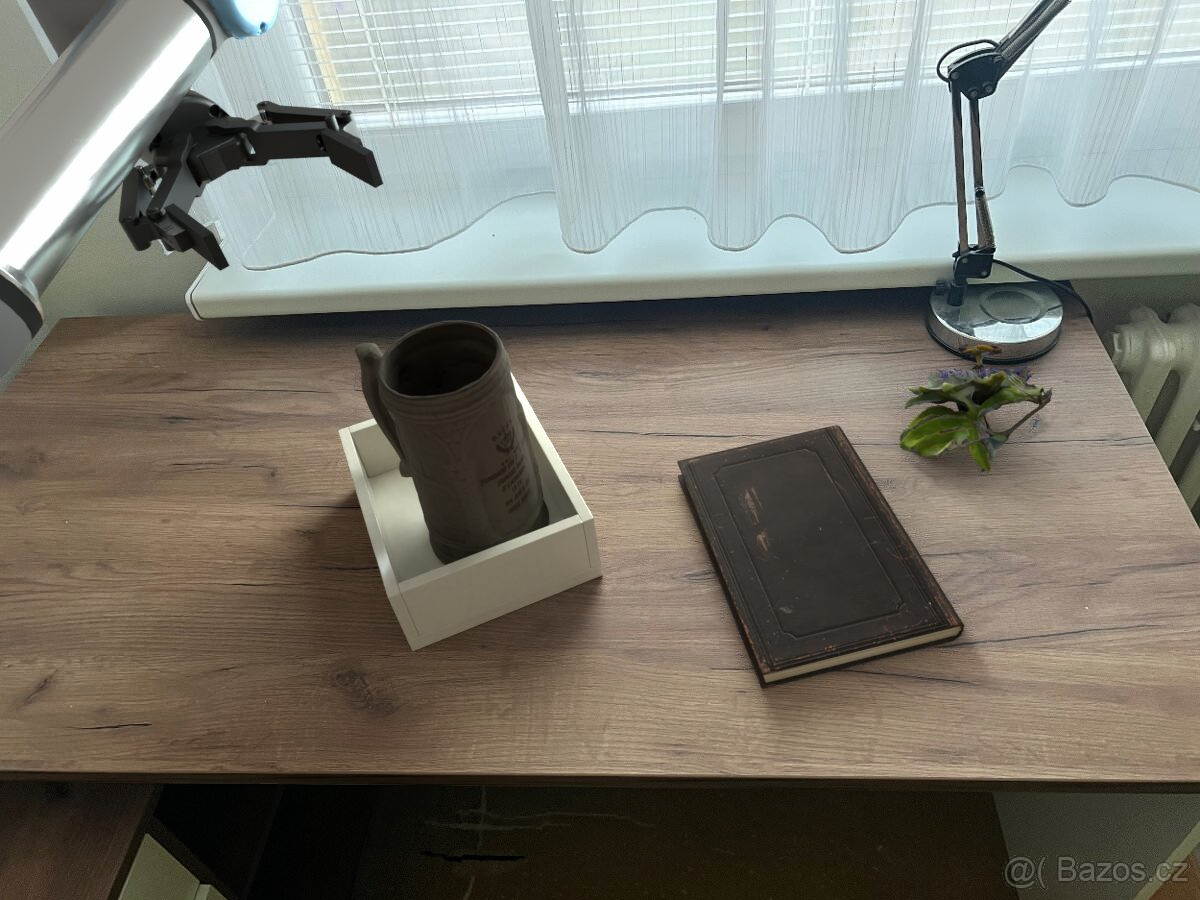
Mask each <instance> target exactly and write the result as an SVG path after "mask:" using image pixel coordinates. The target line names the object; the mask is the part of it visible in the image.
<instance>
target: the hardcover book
mask: <svg viewBox="0 0 1200 900" xmlns="http://www.w3.org/2000/svg"><path fill="white" fill-rule="evenodd" d="M676 463H677V465H678V469H679V471H680V474H678V475H677V477H678V480H679V483H680V486H681V488H682V491H683V493H684V495H685V498H686V500H687V501H686V502H687V503H688V506H689V508H690V511H691V513H692V517H693V518H694V521H695V524H696V525H697V528H698V530H699V533H700V536H701V539H702V541H703V544H704V546H705V548H706V551H707V553H708V557H709V558H710V562H711V564H712V567H713V570H714V571H715V574H716V576H717V579H718V581H719V585H720V586H721V589H722V591H723V594H724V596H725V599H726V602H727V604H728V606H729V609H730V612H731V614H732V617H733V619H734V622H735V625H736V627H737V630H738V632H739V635H740V637H741V639H742V642H743V645H744V647H745V650H746V653H747V655H748V657H749V660H750V662H751V665H752V667H753V670H754V672H755V675H756V678H757V681H758V682H759V685H760V688H761V689H766V688H771V687H775V686H778V685H783V684H786V683H790V682H794V681H798V680H802V679H806V678H810V677H814V676H818V675H823V674H827V673H830V672H835V671H838V670H842V669H846V668H849V667H854V666H859V665H862V664H867V663H870V662H875V661H877V660H881V659H882V660H883V659H886V658H890V657H894V656H898V655H902V654H906V653H910V652H915V651H918V650H922V649H926V648H930V647H933V646H938V645H942V644H946V643H951V642H954V641H955V640H957V639H958V638H960V637H962V634H963V632H964V629H965V624H964V622H963V621H962V619H961V617H960V616H959V615H958V612H957V611H956V610H955V607H953V605H952V603H951V602H950V600H949V597H947V595H946V594H945V591H943V590H944V589H942V587H941V586H940V584H939V582H938V581H937V579H936V577H935V576H934V574H933V573H932V571H931V570H930V568H929V566H928V564H927V563H926V562H925V560H924V558H923V557H922V555H921V553H920V552H919V550H918V549H917V547H916V546H915V543H913V541H912V538H911V537H910V536H909V534H908V533H907V531H906V529H905V528H904V526H903V525H902V523H901V522H900V520H899V518H898V517H897V515H896V514H895V512H894V510H893V509H892V507H891V505H890V504H889V502H888V500H887V499H886V498H885V496H884V494H883V492H882V491H881V489H880V488H879V486H878V484H877V483H876V481H875V480H874V478H873V476H872V475H871V473H870V471H869V470H868V469H867V467H866V466H865V464H864V462H863V461H862V459H861V457H860V456H859V454H858V452H857V451H856V450H855V448H854V446H853V444H852V443H851V441H850V440H849V438H848V437H847V435H846V433H845V431H844V429H842V427H841V426H840V425H837V424H834V425H829V426H825V427H821V428H817V429H812V430H808V431H803V432H799V433H794V434H791V435H786V436H781V437H777V438H776V437H775V438H772V439H768V440H764V441H760V442H759V441H758V442H754V443H750V444H746V445H741V446H736V447H733V448H728V449H724V450H719V451H715V452H711V453H707V454H702V455H697V456H693V457H689V458H684V459H680V460H677V461H676Z"/></svg>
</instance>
